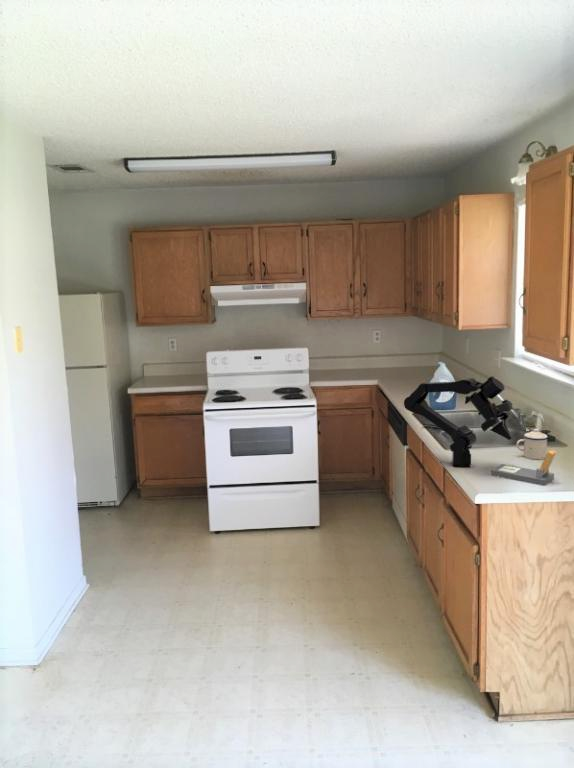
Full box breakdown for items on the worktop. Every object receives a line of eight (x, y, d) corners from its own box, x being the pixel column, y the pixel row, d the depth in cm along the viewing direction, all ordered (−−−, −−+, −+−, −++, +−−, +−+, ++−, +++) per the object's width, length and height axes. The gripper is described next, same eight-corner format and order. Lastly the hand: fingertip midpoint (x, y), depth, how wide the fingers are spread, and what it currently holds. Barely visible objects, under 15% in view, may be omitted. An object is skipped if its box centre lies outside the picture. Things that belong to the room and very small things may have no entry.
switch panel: (491, 475, 235) (491, 461, 235) (501, 468, 243) (502, 455, 242) (544, 485, 223) (545, 471, 222) (553, 478, 230) (554, 465, 229)
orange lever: (536, 474, 227) (547, 451, 223) (541, 471, 230) (551, 449, 227) (541, 477, 226) (552, 454, 222) (546, 474, 229) (556, 451, 225)
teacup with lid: (542, 453, 262) (544, 426, 260) (549, 460, 253) (551, 432, 251) (513, 453, 264) (514, 426, 262) (518, 459, 255) (520, 431, 253)
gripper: (492, 395, 228) (520, 430, 223) (507, 390, 243) (534, 422, 238) (469, 414, 233) (496, 448, 229) (485, 407, 248) (511, 439, 244)
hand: (510, 439), depth 235 cm, fingers closed
